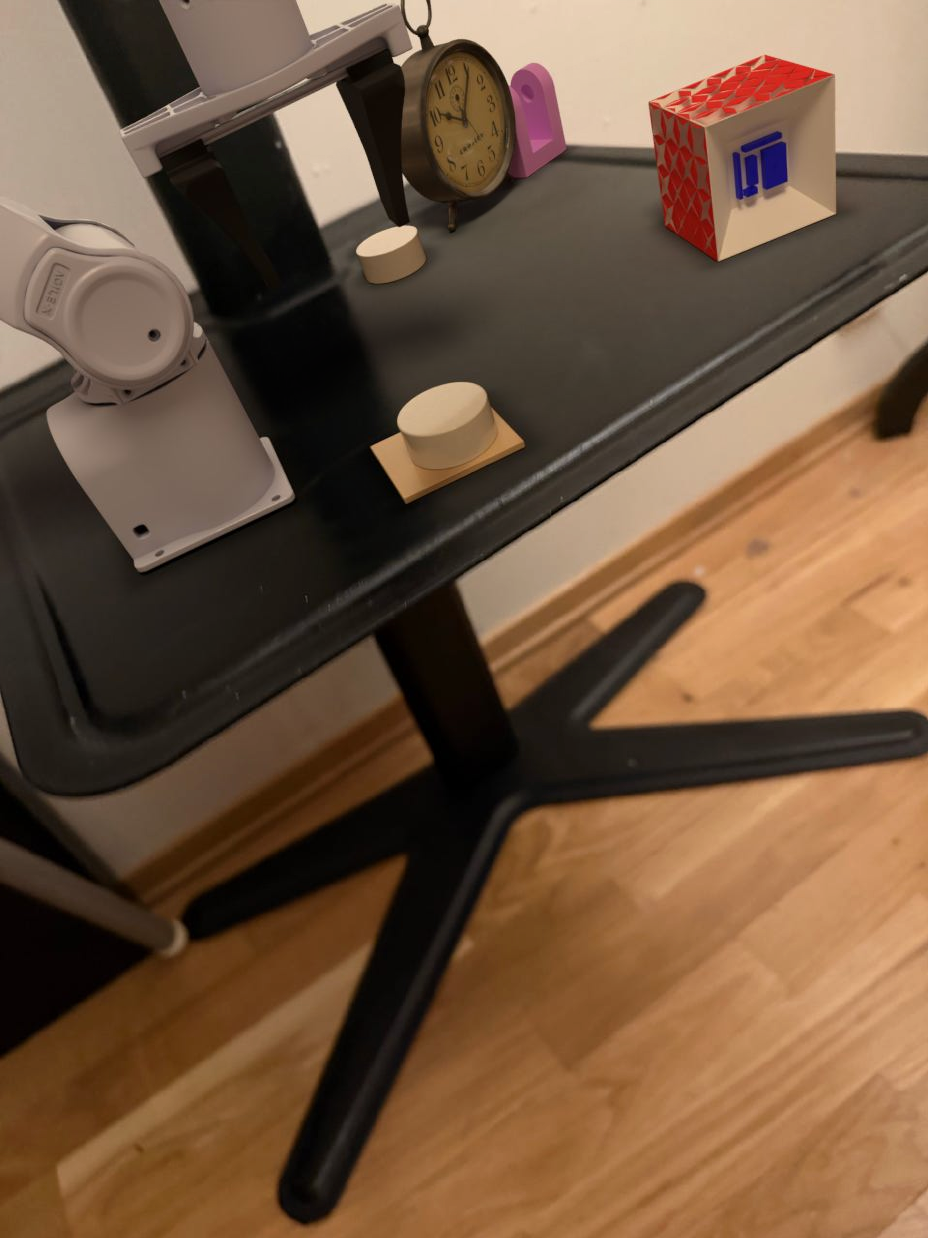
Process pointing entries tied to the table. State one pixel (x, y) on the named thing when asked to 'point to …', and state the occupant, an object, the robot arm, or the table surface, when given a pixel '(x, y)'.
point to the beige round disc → (391, 254)
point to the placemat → (423, 481)
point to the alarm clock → (455, 121)
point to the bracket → (535, 120)
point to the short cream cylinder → (447, 425)
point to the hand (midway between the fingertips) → (336, 251)
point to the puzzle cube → (746, 154)
